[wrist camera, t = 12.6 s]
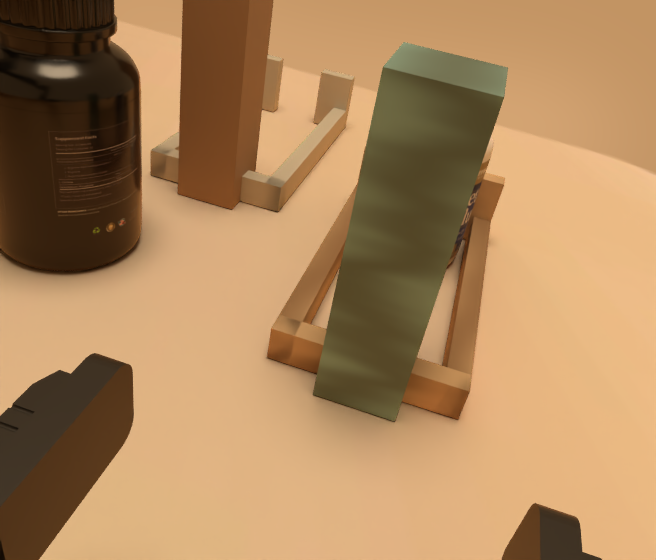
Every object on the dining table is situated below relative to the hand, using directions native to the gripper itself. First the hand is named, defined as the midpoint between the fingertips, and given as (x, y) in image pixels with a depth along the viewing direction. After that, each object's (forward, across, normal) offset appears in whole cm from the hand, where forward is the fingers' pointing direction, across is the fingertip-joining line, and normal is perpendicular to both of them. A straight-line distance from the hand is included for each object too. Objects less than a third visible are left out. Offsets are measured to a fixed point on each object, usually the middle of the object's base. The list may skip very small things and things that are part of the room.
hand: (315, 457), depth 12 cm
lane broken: (+31, +12, +8) cm, 34 cm away
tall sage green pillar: (+19, 0, +8) cm, 20 cm away
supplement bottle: (+15, +16, +8) cm, 23 cm away
